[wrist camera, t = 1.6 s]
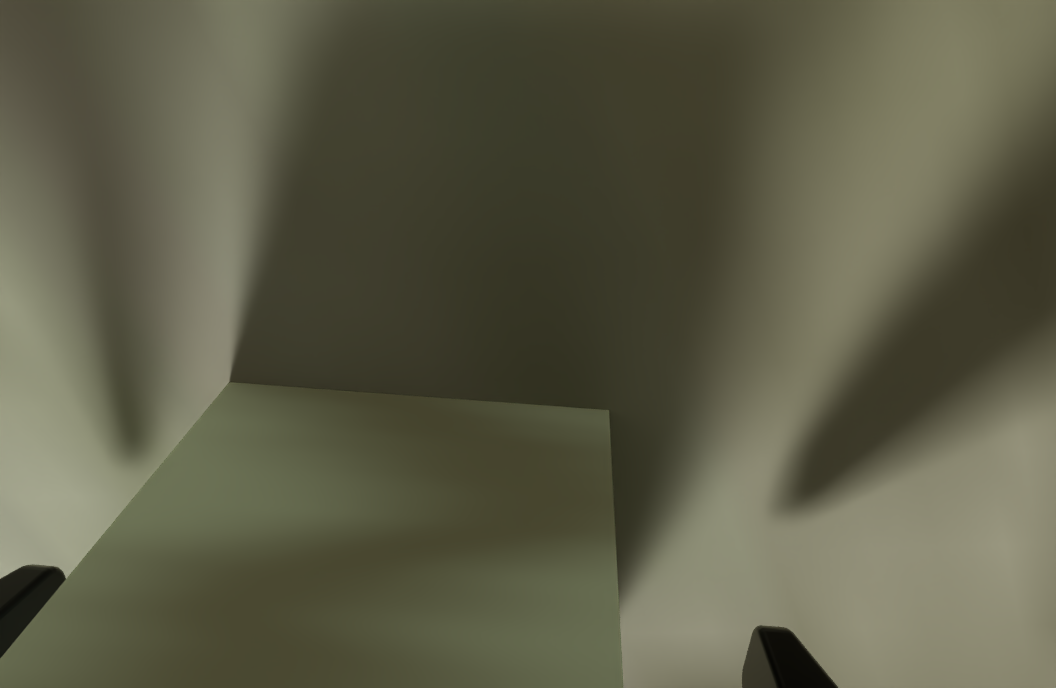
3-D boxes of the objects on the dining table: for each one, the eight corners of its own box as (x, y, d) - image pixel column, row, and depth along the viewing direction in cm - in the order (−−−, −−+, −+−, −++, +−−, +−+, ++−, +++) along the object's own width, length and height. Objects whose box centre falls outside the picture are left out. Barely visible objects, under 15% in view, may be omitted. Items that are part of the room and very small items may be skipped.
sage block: (608, 407, 10) (627, 794, 5) (579, 665, 12) (576, 1083, 8) (231, 379, 10) (-61, 730, 5) (276, 639, 12) (100, 1031, 8)
